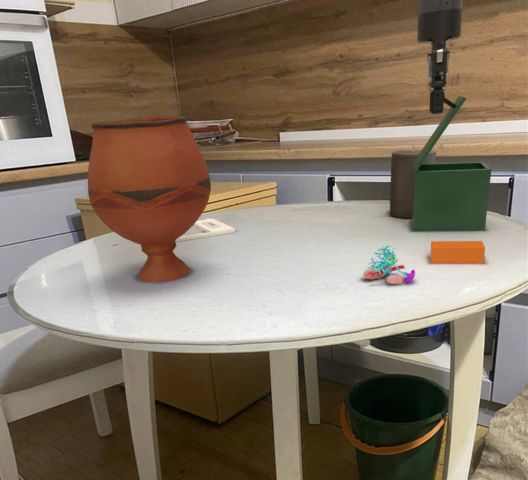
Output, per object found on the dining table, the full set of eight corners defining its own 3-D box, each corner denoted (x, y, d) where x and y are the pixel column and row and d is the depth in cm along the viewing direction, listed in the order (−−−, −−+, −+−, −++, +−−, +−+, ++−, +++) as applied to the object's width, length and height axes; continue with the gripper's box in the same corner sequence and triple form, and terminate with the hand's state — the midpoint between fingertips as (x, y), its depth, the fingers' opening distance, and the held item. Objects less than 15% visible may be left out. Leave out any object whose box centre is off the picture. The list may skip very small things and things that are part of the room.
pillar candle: (382, 217, 123) (383, 147, 116) (400, 209, 130) (402, 143, 123) (422, 220, 117) (427, 147, 111) (439, 211, 124) (444, 142, 118)
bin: (477, 219, 114) (483, 161, 109) (484, 232, 104) (491, 169, 99) (411, 220, 117) (414, 164, 112) (412, 233, 107) (415, 172, 102)
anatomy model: (386, 263, 74) (421, 248, 77) (348, 253, 80) (382, 239, 83) (388, 297, 76) (422, 281, 79) (352, 285, 83) (384, 270, 85)
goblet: (93, 299, 83) (56, 125, 72) (121, 264, 100) (94, 120, 89) (216, 290, 83) (197, 115, 72) (222, 257, 100) (207, 112, 89)
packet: (429, 258, 90) (431, 241, 89) (480, 258, 88) (482, 240, 87) (430, 265, 87) (432, 247, 86) (483, 265, 85) (485, 247, 84)
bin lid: (461, 97, 105) (439, 83, 105) (466, 98, 95) (442, 82, 95) (416, 163, 112) (395, 150, 112) (416, 170, 102) (393, 156, 102)
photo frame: (235, 227, 117) (155, 240, 110) (235, 232, 118) (156, 246, 111) (211, 217, 129) (138, 229, 123) (212, 222, 130) (139, 233, 123)
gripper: (465, 1, 88) (459, 112, 95) (458, 12, 100) (454, 110, 107) (418, 8, 90) (416, 116, 97) (417, 18, 102) (415, 113, 109)
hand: (436, 112), depth 102 cm, fingers closed on bin lid, 6 cm apart
